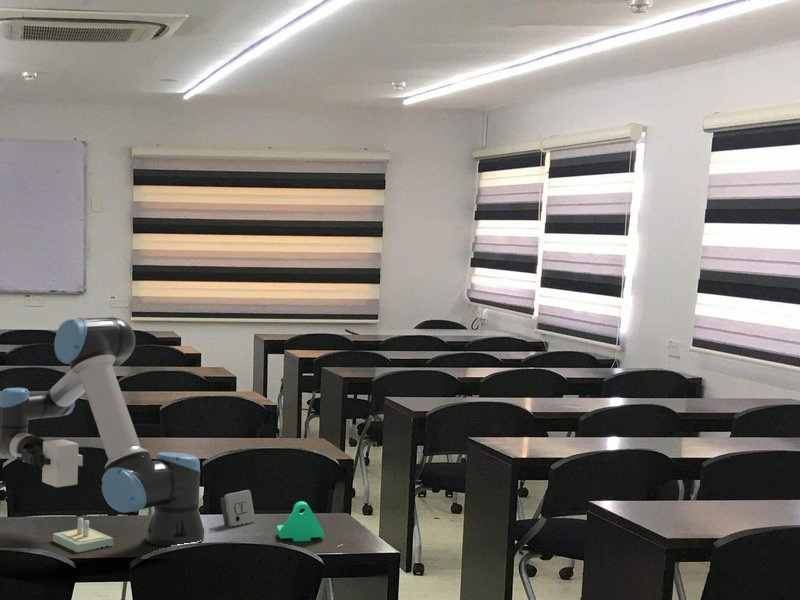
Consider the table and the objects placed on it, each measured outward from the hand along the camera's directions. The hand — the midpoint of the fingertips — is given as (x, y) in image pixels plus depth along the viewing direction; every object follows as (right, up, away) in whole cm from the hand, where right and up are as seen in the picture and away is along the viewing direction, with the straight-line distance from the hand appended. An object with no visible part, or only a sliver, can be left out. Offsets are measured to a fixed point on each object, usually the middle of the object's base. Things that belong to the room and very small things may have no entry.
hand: (69, 462), depth 266 cm
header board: (+5, -20, -4) cm, 21 cm away
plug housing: (-4, -6, +4) cm, 8 cm away
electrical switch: (+41, -21, +21) cm, 50 cm away
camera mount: (+60, -23, +10) cm, 65 cm away
